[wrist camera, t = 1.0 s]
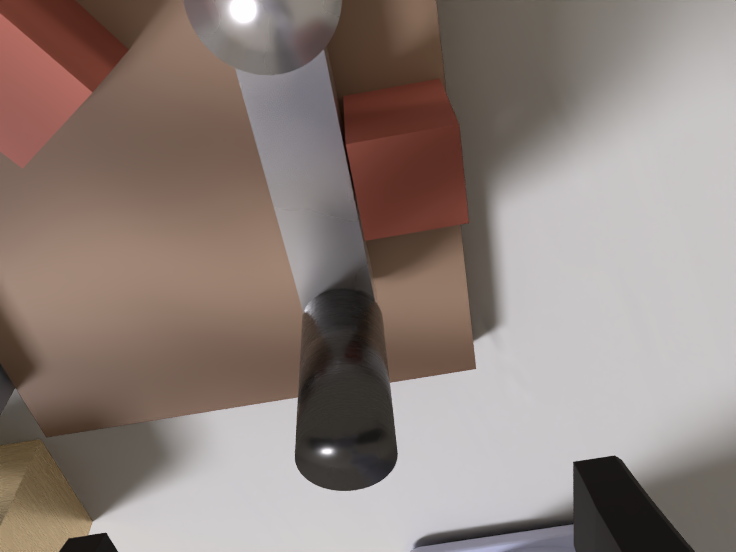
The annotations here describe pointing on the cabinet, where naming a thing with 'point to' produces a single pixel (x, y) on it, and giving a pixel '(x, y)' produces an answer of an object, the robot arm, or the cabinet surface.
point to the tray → (5, 388)
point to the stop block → (36, 501)
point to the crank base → (204, 211)
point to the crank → (313, 229)
